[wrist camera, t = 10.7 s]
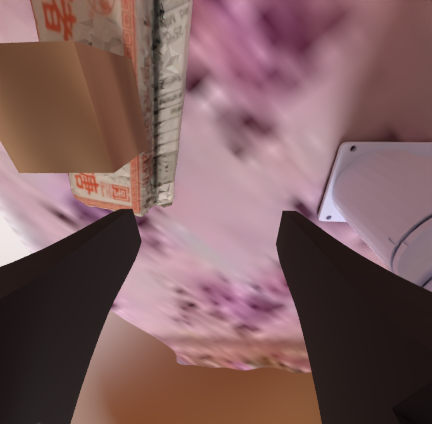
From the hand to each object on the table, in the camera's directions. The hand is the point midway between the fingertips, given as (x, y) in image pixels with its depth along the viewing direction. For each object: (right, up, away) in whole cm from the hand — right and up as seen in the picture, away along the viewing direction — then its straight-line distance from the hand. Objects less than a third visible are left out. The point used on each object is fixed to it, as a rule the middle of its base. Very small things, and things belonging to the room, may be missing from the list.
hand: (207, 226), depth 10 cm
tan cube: (-7, +7, +3) cm, 11 cm away
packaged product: (-7, +10, +7) cm, 15 cm away
